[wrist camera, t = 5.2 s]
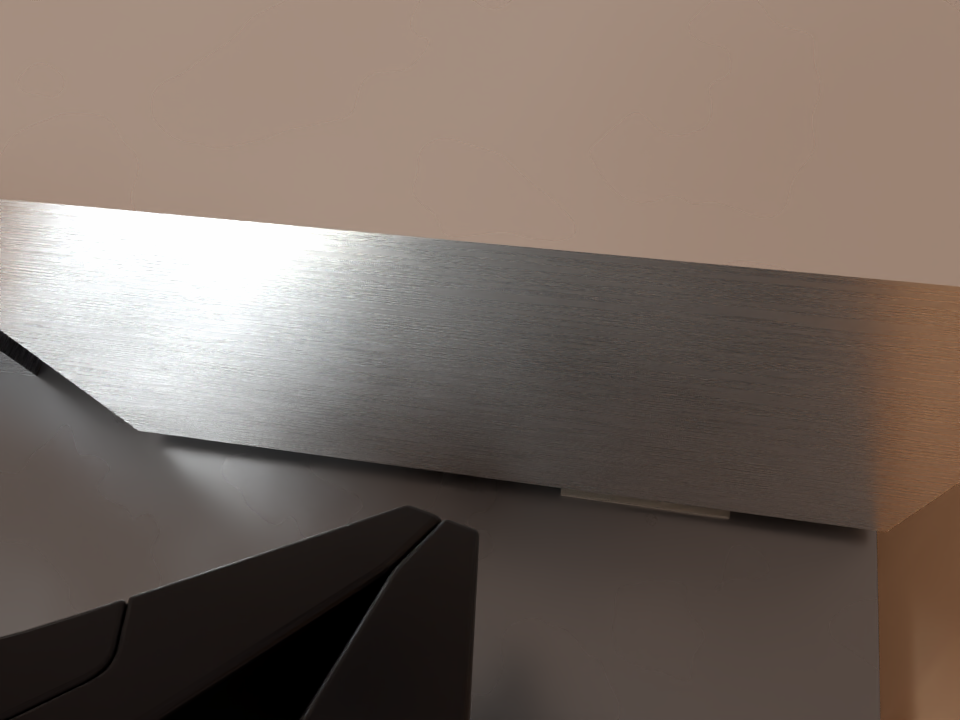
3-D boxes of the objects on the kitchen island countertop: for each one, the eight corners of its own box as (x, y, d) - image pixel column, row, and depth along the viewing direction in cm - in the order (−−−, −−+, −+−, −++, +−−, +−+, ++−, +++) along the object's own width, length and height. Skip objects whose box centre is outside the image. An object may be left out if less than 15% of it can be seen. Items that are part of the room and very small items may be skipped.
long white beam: (886, 532, 14) (1213, 309, 7) (17, 413, 17) (-403, 162, 10) (880, 274, 16) (1130, -107, 9) (104, 204, 19) (-191, -137, 12)
